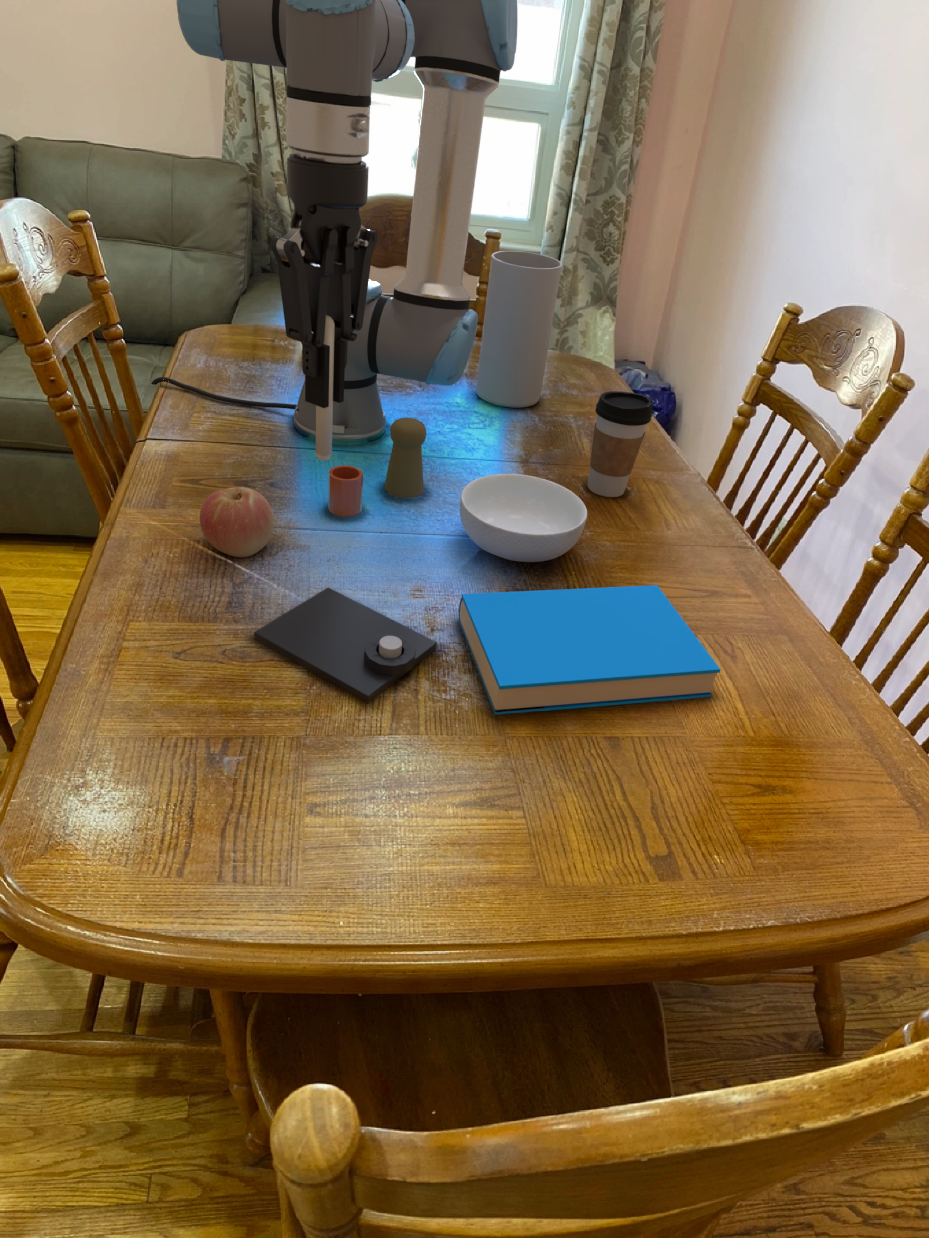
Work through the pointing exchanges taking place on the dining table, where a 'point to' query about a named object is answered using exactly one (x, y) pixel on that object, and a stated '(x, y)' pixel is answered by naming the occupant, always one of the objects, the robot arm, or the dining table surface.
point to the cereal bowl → (521, 517)
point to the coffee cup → (617, 440)
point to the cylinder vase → (517, 327)
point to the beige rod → (326, 414)
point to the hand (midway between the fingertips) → (324, 401)
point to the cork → (406, 458)
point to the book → (583, 648)
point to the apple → (237, 521)
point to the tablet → (344, 643)
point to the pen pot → (345, 490)
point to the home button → (390, 647)
